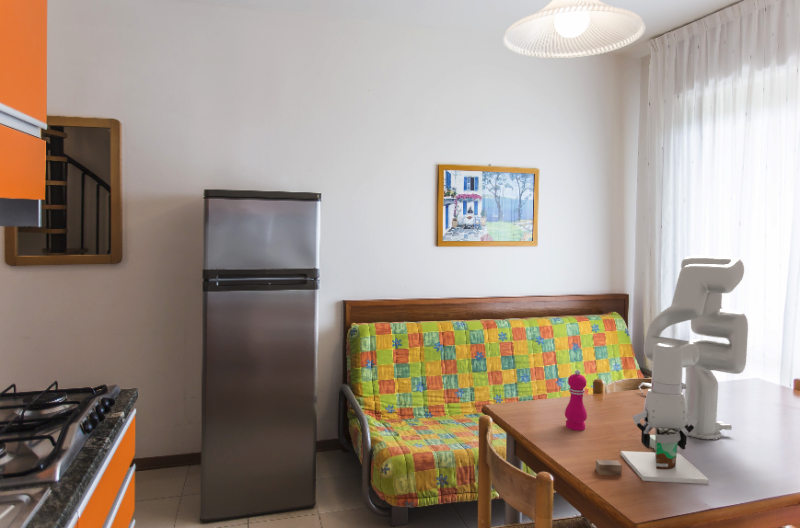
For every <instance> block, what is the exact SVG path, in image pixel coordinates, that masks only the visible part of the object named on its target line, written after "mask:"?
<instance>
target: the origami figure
mask: <svg viewBox="0 0 800 528" xmlns="http://www.w3.org/2000/svg"><path fill="white" fill-rule="evenodd" d="M642 386H645V387H647V388H651V383H649V382H641V383H640V384H639V385H638V389H639V390H640V391H641V394H644V392H643V389H642V388H641V387H642Z"/></svg>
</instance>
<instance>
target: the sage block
mask: <svg viewBox="0 0 800 528" xmlns="http://www.w3.org/2000/svg"><path fill="white" fill-rule="evenodd" d="M650 446H651V447H650V448H652V449H653V448H654V450H655V434H650Z"/></svg>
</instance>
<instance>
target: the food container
mask: <svg viewBox="0 0 800 528" xmlns="http://www.w3.org/2000/svg"><path fill="white" fill-rule="evenodd" d="M654 429H655V431H654V432H655V434H654V435H655V449H654V450H655V452H654V453H655V458H656V469H672V468H674V467H675V466H676V455H677V454H678V453H677V452H678V445H677V444H678V441H680V439H681V437H680V433H679V430H678V429H666V428H654Z"/></svg>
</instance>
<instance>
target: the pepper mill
mask: <svg viewBox="0 0 800 528" xmlns="http://www.w3.org/2000/svg"><path fill="white" fill-rule="evenodd" d="M567 384H568V386H569V388H568V389H569V390H568V392H569V394H570V398H569V401H568V404H567V405H566V408H565V410H564V416H565V418H566V420H565V427H566V428H567V429H569V430H571V429H572V430H571V431H576V432H577V431H578V432H579V431H580V432H581V430H582V431H585V430H586V422H585V421H587V419H588V414H587V413H588V412H587V409H586V407H585V405H584V401H583V399H584V394H585V388H586V386H587V379H586V377H585V376H584V375H582V374H581V370H580V369H575V371H574V373H572V374H571V375H569V376H568V378H567Z"/></svg>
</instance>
